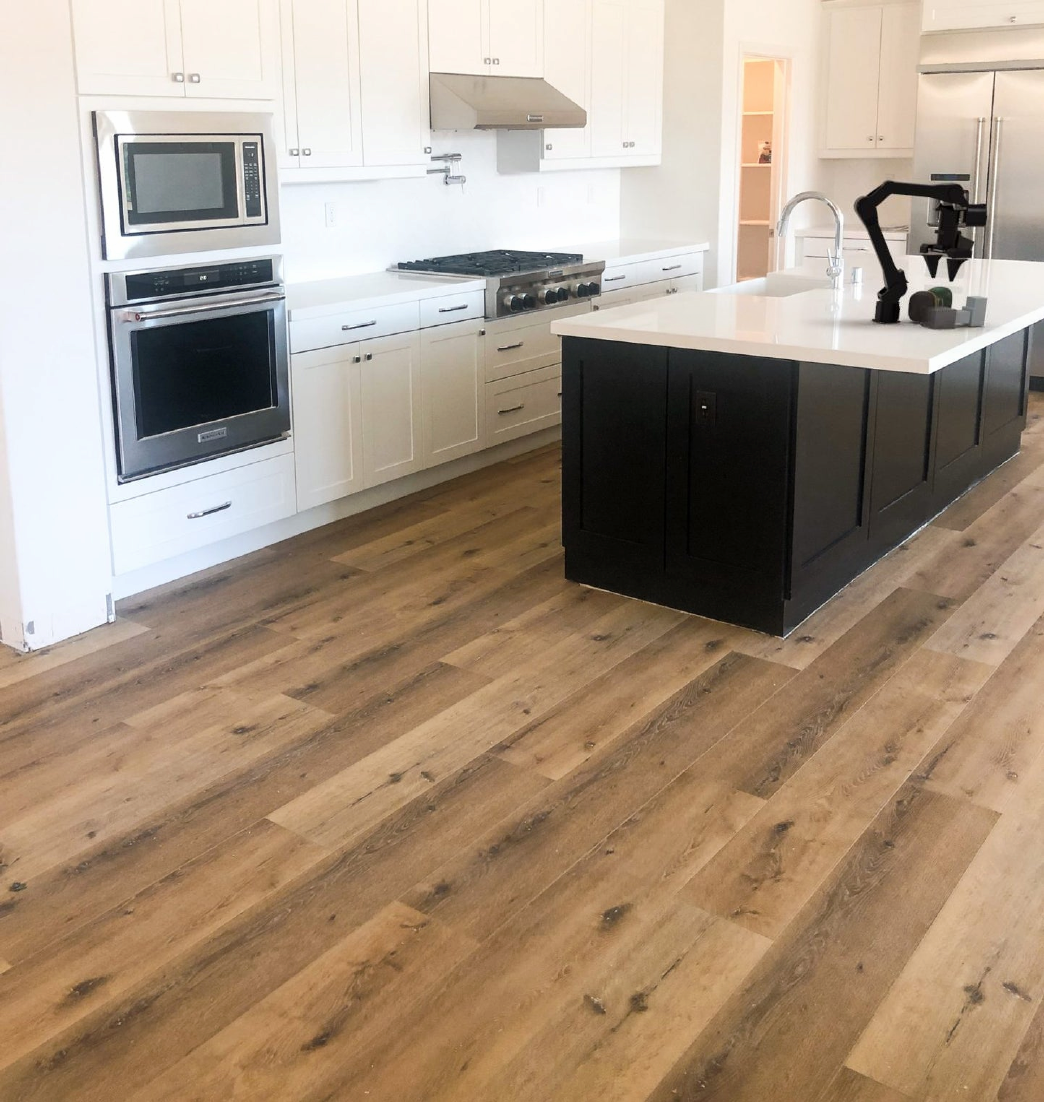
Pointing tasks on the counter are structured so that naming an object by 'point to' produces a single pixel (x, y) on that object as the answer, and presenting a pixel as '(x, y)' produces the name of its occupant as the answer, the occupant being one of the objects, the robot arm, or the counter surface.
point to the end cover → (972, 311)
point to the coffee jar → (928, 301)
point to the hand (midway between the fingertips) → (942, 280)
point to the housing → (938, 317)
